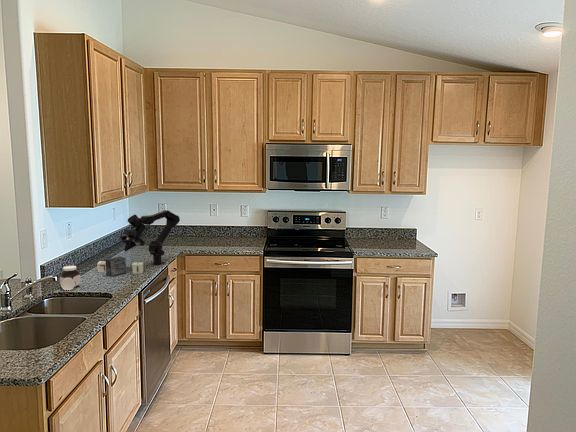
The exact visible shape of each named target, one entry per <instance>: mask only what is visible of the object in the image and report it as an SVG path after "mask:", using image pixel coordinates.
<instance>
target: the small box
mask: <svg viewBox="0 0 576 432" xmlns="http://www.w3.org/2000/svg"><path fill="white" fill-rule="evenodd" d="M104 261H105V262H106V272H105V276H108V277H117V276H120V275H125V274H127V266H126V265H127V264H126V256H125V257H124V256H115V257H110V258H105V260H104Z"/></svg>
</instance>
